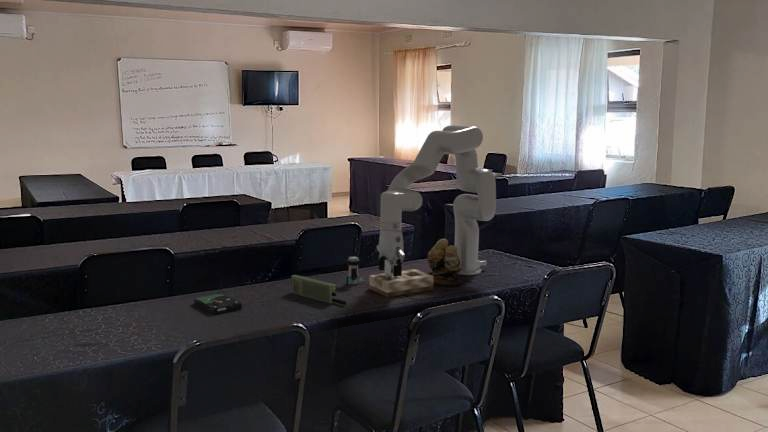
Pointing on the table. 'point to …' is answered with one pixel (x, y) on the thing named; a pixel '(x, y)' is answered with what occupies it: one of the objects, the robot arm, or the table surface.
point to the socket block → (401, 283)
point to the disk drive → (218, 303)
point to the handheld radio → (314, 289)
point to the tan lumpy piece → (444, 264)
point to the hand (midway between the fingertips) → (390, 272)
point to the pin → (389, 269)
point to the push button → (353, 271)
